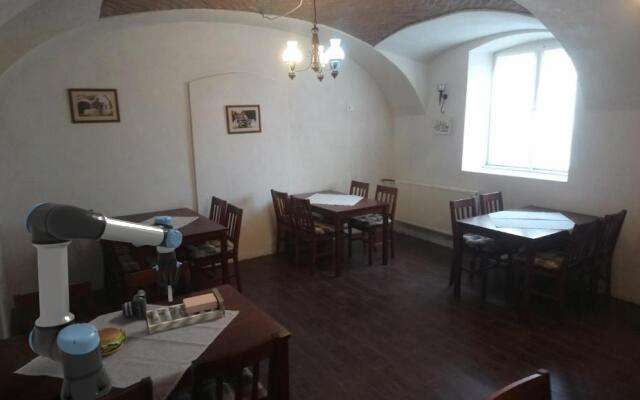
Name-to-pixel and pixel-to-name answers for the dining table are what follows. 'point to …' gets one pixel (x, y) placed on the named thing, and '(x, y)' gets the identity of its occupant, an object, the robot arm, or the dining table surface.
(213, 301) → the slab
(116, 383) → the dining table surface
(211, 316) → the roller bed
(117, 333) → the food
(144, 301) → the camera
